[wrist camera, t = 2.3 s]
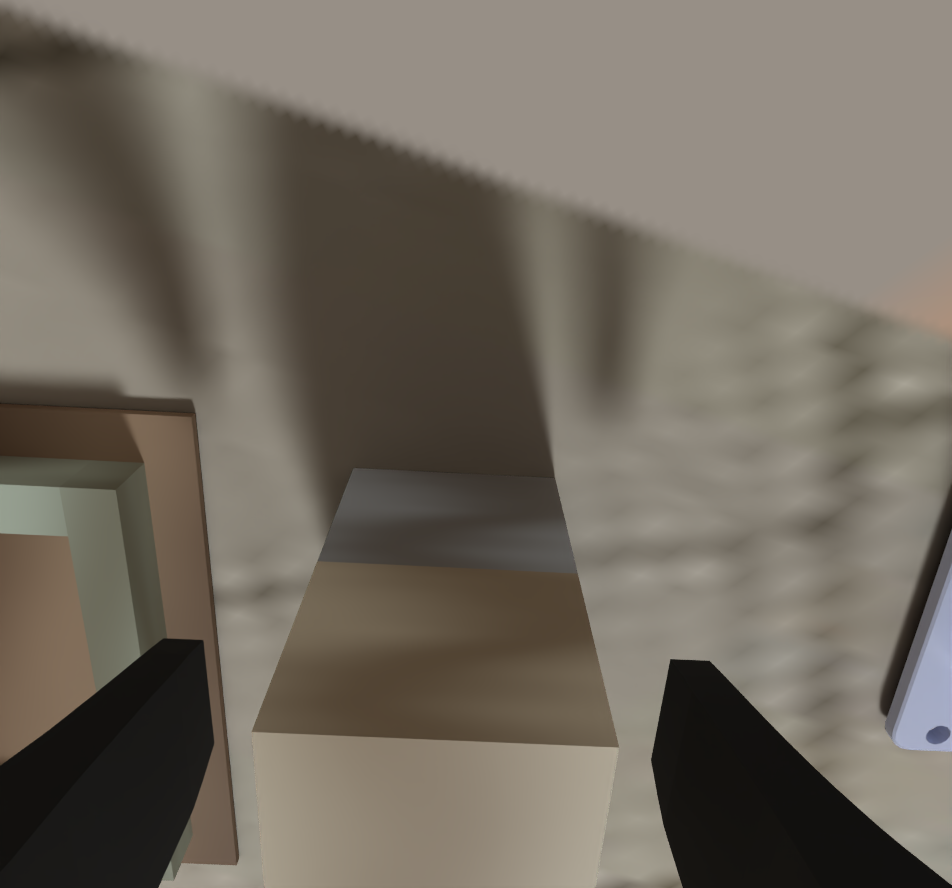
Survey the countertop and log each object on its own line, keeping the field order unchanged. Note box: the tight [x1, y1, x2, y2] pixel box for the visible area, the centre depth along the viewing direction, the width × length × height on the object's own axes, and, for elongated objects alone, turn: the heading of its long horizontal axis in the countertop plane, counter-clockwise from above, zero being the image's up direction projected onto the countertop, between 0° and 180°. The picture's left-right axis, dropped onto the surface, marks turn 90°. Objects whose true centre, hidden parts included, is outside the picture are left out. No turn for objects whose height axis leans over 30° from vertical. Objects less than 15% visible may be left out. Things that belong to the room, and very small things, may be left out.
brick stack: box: [252, 468, 619, 888], centre depth 12 cm, size 4×4×7 cm
